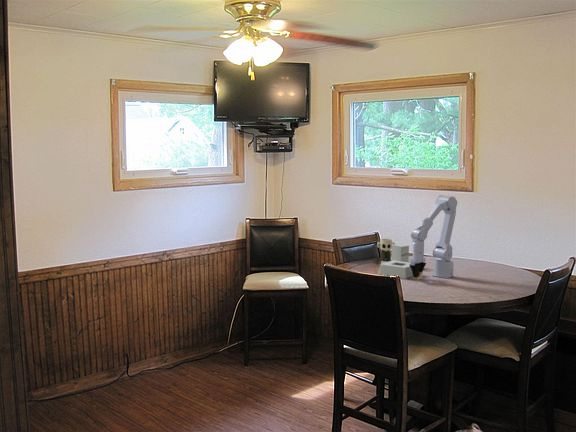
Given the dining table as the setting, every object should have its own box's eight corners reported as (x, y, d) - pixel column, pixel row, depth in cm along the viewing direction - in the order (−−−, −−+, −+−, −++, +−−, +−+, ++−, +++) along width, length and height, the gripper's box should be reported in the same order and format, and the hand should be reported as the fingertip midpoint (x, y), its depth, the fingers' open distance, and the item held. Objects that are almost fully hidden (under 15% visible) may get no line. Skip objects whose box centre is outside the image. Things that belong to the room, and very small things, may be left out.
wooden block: (422, 279, 332) (422, 272, 332) (419, 280, 330) (419, 273, 330) (415, 278, 335) (415, 271, 334) (412, 279, 332) (412, 272, 332)
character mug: (377, 261, 381) (377, 240, 379) (376, 259, 388) (376, 238, 387) (395, 261, 380) (395, 240, 379) (393, 259, 388) (394, 238, 386)
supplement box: (400, 268, 362) (401, 246, 360) (390, 265, 367) (391, 244, 366) (408, 266, 366) (409, 245, 365) (399, 264, 372) (399, 243, 370)
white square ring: (416, 274, 345) (417, 263, 344) (405, 278, 333) (405, 267, 332) (392, 270, 354) (392, 260, 353) (380, 275, 342) (380, 264, 341)
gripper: (417, 248, 339) (416, 273, 340) (405, 252, 327) (404, 277, 329) (429, 250, 335) (428, 275, 336) (417, 254, 323) (417, 279, 325)
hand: (417, 276), depth 332 cm, fingers open, 5 cm apart
